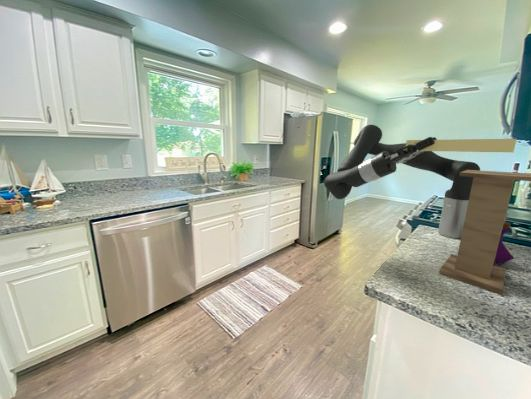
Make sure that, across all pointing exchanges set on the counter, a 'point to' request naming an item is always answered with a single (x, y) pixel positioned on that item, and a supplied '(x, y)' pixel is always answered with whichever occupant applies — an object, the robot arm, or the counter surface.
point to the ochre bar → (470, 145)
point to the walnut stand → (483, 230)
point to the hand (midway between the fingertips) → (434, 140)
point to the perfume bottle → (502, 252)
